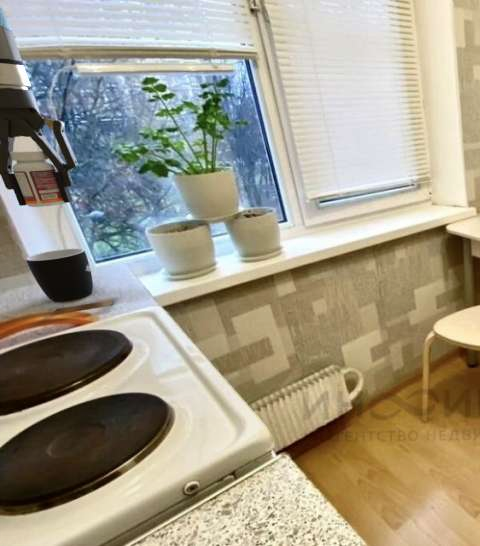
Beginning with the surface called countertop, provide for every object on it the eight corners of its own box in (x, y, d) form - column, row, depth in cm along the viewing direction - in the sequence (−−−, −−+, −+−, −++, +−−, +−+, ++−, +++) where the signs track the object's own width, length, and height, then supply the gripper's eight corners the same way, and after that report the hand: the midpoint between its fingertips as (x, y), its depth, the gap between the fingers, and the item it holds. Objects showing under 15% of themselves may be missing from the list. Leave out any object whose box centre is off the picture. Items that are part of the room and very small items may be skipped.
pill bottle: (73, 201, 95) (55, 150, 92) (58, 206, 90) (38, 151, 86) (37, 203, 93) (17, 150, 89) (19, 208, 88) (-3, 152, 84)
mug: (104, 295, 95) (88, 252, 92) (47, 308, 89) (28, 263, 85) (91, 284, 102) (77, 244, 99) (38, 295, 95) (20, 253, 92)
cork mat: (42, 326, 81) (41, 323, 81) (57, 311, 87) (56, 308, 87) (103, 315, 85) (102, 313, 85) (114, 302, 92) (113, 299, 91)
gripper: (-81, 84, 76) (-27, 210, 84) (64, 89, 86) (101, 201, 93) (-59, 87, 82) (-10, 204, 90) (75, 91, 92) (109, 197, 99)
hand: (47, 202), depth 91 cm, fingers closed on pill bottle, 6 cm apart
